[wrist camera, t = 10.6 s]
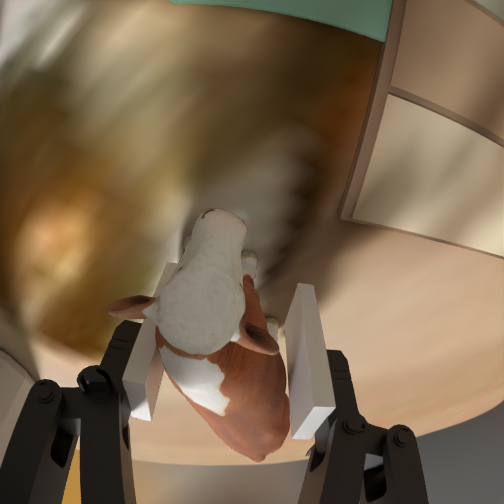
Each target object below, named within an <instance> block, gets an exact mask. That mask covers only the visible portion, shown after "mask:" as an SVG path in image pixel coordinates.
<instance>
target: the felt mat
mask: <svg viewBox="0 0 504 504" xmlns="http://www.w3.org/2000/svg"><path fill="white" fill-rule="evenodd" d="M170 2H171V3H184V4H206V5H220V6H230V7H239V8H247V9H254V10H261V11H267V12H273V13H279V14H284V15H289V16H294V17H299V18H303V19H307V20H312V21H316V22H320V23H324V24H327V25H331V26H335V27H338V28H342V29H345V30H348V31H351V32H355V33H358V34H361V35H364V36H367V37H370V38H372V39H375V40H378V41H381V42H385V38H386V33H387V28H388V22H389V17H390V11H391V5H392V0H170Z"/></svg>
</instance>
